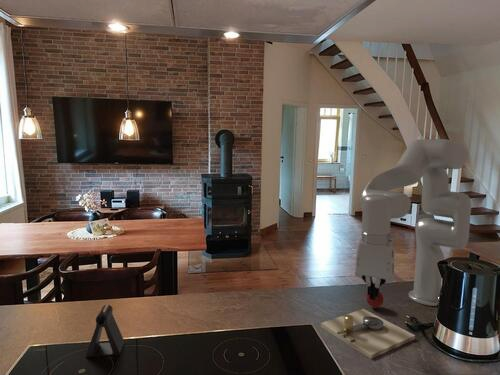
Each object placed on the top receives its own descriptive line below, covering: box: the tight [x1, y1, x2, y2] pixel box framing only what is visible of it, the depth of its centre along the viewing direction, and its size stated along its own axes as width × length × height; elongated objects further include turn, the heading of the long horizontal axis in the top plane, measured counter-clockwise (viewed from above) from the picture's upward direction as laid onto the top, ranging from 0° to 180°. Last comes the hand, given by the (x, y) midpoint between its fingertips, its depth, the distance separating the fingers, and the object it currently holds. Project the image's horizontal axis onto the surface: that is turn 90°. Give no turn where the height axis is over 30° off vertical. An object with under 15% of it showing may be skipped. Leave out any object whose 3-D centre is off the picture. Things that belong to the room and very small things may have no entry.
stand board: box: [320, 308, 416, 360], centre depth 110 cm, size 20×20×2 cm
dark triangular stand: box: [85, 304, 125, 358], centre depth 99 cm, size 9×6×12 cm, turn 98°
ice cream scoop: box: [339, 314, 383, 334], centre depth 109 cm, size 16×6×5 cm, turn 114°
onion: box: [365, 290, 385, 309], centre depth 127 cm, size 6×6×8 cm
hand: (373, 298), depth 103 cm, fingers closed
